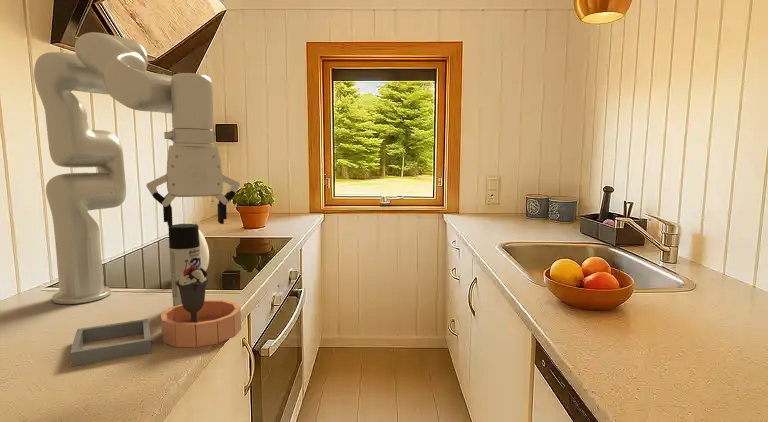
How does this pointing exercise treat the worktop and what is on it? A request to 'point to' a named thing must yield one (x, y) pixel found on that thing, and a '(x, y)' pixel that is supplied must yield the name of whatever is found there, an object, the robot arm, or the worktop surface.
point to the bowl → (201, 324)
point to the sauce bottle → (203, 251)
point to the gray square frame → (112, 350)
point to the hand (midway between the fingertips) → (195, 224)
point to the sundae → (192, 290)
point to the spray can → (183, 253)
